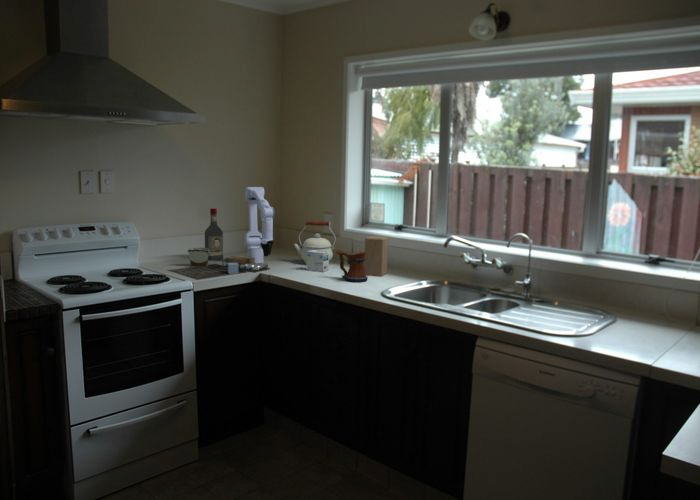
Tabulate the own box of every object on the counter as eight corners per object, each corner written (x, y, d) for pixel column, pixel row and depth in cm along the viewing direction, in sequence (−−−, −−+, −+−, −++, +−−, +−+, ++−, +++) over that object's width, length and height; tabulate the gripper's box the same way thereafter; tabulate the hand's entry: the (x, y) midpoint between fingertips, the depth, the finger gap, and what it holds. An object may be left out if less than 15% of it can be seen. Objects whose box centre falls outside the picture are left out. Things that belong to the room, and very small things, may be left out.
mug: (330, 278, 300) (330, 250, 298) (342, 275, 310) (343, 247, 308) (359, 283, 291) (360, 253, 288) (371, 280, 300) (372, 251, 298)
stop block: (227, 272, 312) (228, 274, 306) (227, 262, 311) (228, 264, 306) (237, 271, 313) (238, 273, 308) (237, 262, 313) (238, 264, 307)
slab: (237, 259, 332) (237, 255, 331) (254, 261, 326) (254, 257, 326) (225, 262, 323) (225, 257, 323) (243, 264, 318) (243, 259, 317)
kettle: (338, 261, 350) (339, 220, 347) (331, 267, 333) (332, 223, 329) (297, 259, 355) (298, 218, 351) (289, 264, 337) (289, 221, 333)
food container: (213, 265, 329) (213, 247, 327) (209, 267, 323) (209, 249, 321) (191, 264, 330) (191, 246, 329) (187, 266, 324) (187, 248, 322)
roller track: (235, 264, 334) (235, 259, 334) (269, 268, 323) (269, 263, 322) (220, 267, 323) (220, 262, 322) (255, 272, 311) (255, 267, 311)
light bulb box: (329, 270, 323) (329, 251, 322) (323, 272, 317) (323, 252, 316) (311, 268, 328) (312, 249, 326) (306, 270, 322) (306, 250, 320)
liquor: (203, 258, 350) (202, 208, 345) (218, 257, 355) (217, 207, 351) (210, 261, 343) (209, 209, 338) (224, 259, 348) (224, 209, 343)
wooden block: (386, 273, 319) (388, 236, 316) (381, 276, 309) (383, 239, 306) (369, 271, 322) (370, 235, 319) (363, 275, 313) (364, 237, 310)
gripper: (262, 228, 320) (262, 253, 322) (256, 231, 305) (256, 257, 307) (275, 228, 319) (275, 253, 321) (270, 231, 305) (269, 257, 307)
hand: (267, 255), depth 314 cm, fingers open, 4 cm apart
